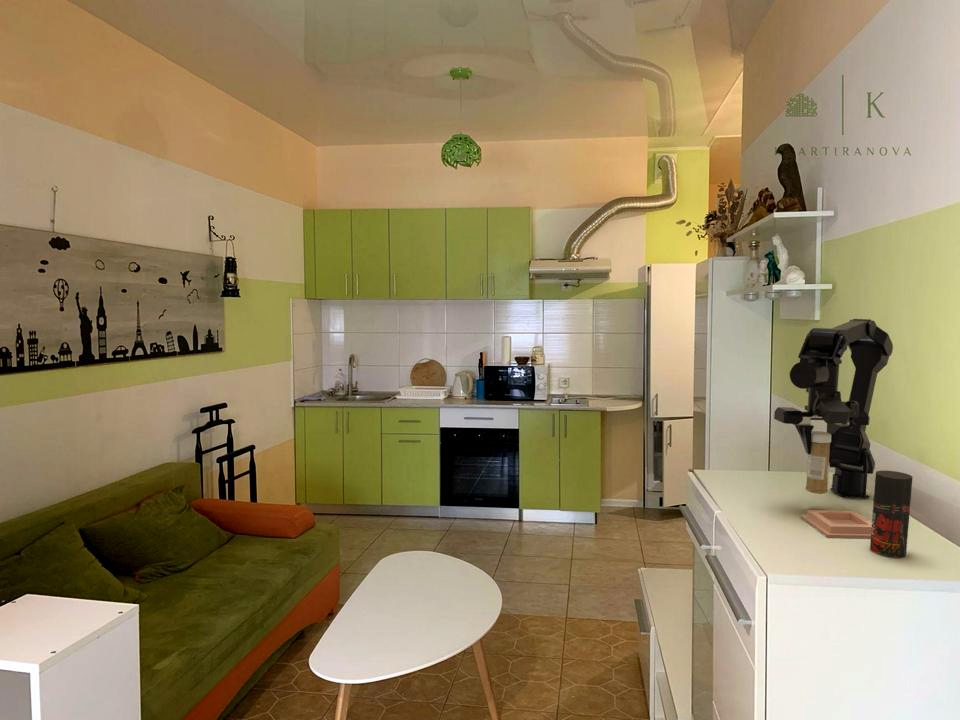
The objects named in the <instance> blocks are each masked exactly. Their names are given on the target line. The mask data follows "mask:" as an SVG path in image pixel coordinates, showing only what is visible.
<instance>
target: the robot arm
mask: <svg viewBox="0 0 960 720" xmlns="http://www.w3.org/2000/svg"><path fill="white" fill-rule="evenodd" d="M876 323H877V322H876V321H875V320H872V319H871V318H870V319H869V318H868V319H867V318H865V319H864V318H853V319H849V321H848V322H847V321H846V322H844V323H842V324H839V325H837V326H834V327H831V328H829V327H813V328H811V329H810V330H808V331H809V332H808V333H807V335H806V337H805V339H804V341H803V344H802V347H801V349H800V352H799V353H798V359H799V361H798V362H797V363H795V364H794V365H793V366H792V367H791V368H790V371H789V379H790V382H791V383H792V385H794V387H797V388H799V389H803V390H805V393H808V396H807V405H806V404H805V406H804V410H805V411H802V410H800V409H798V408H794V407H793V406H792V407H789V406H787V407H786V406H783V407H782V406H781V407H780V406H778V407H777V408H776V409H775V410H774V412H773V413H774V414H773V415H774V416H773V419H774V420H775V421H778V422H780V423H783V424H785V425H786V424H787V425H794V426H795V429H796V431H797V433H798V435H799V438H800V440H801V442H802V446H803V448H804V450H805V453H806V455H808V454H810V452H811V432H812V431H814V428H815V426H814V424H813V425H812V424H811V421H823V422H824V423H826V432H827V433H830V434H831V442H830V453H829V468H834V473H833V474H832V484H831V487H830V489H829V490H830V491H832V492H833V493H835V494H837V495H838V496H840V497H842V498H850V499H851V498H853V499H854V498H859V499H860V498H862V499H863V498H864V499H867V498H868V499H870V497H871V496H870V495H869V494H867V484H868V475H870V474H871V475H873V474H874V470H875V467H876V461H875V459H874V457H873V454H872V452H871V450H870V448H871V442H870V440H869V437H868V435H867V433H866V429H867V426H870V419H871V418H870V409H871V405H872V400H873V395H874V391H875V386H876V382H877V378H878V377H877V376H878V374H879V372H881V371H882V370H883V369H884V368H885V367H886V366H887V365H888V362H889V359H890V356H892V354H893V349H894V345H893V341H892V340H891V338H890V335H889V333H888V332H886V331H884V330H883V329H882V328H880V327H879V326H878V325H877V324H876ZM848 348H849V351H850V358H851V359H850V360H851V361H852V363H853V365H854V368H855V370H854V374H853V375H854V376H853V380H852V385H851V388H850V389H851V390H850V394H849V399H848V400H847V401H842V394H841V391H840V390H838V387H839V376H840V375H839V373H840V365H841V364H842V363H843V360H842V357H843V355H844V353H845V352H846V351H847V350H848Z"/></svg>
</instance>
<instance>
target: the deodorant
mask: <svg viewBox="0 0 960 720" xmlns="http://www.w3.org/2000/svg"><path fill="white" fill-rule="evenodd" d="M913 477H914V476H912V475H910V474H908V473H905V472H901V471H900V472H899V471H894V470H877V471H876V472H875V481H874V492H873V493H874V494H873V505H872V518H871V522H872V528H871V538H870V543H869V550H870V551H871V552H872V553H873V554H876V555H879V556H882V557H886V558H892V559H902V558H906V556H907V549H908V548H907V547H908V538H909V537H908V535H909V524H910V523H909V521H910V512H911V502H912V501H911V499H912V489H913V488H912V487H913Z"/></svg>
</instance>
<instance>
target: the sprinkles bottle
mask: <svg viewBox="0 0 960 720" xmlns="http://www.w3.org/2000/svg"><path fill="white" fill-rule="evenodd" d="M830 442H831V434H830V433H827V431H816V430H812V432H811V452H810V454H807V467H806V481H805V483H806V484H805V490H806V491H807V492H809V493H813V494H818V495H819V494H820V495H823V494H827V493H828V491H829V489H828V483H829V482H828V481H829V473H830V472H829V470H830V466H829V453H830Z"/></svg>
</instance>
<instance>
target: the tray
mask: <svg viewBox="0 0 960 720" xmlns="http://www.w3.org/2000/svg"><path fill="white" fill-rule="evenodd" d="M806 512H807V513H806V514H800V516H799V518H800V517H801V518H802V519H801V518H800V519H801V520H803V519H804V520H805V521H807V522H808V523H810V524H811V525H812V526H814V527H815V528H816V529H817V530H816V529H815V528H814V527H813V528H814V529H815V530H816V531H817V532H819V531H820V532H821V533H820V532H819V533H820V534H821V535H823V534H824V535H825V536H824V535H823V536H824V537H826V538H827V537H830V538H829V539H831V538H832V539H871V528H872V520H870V519H868V518H866V517H864V516H863V515H861V514H860V513H858V512H856V511H855V510H820V509H819V510H815V509H814V510H813V509H812V510H809V509H808V510H807V511H806ZM804 520H803V521H804ZM805 521H804V522H805ZM807 522H806V523H807ZM808 523H807V524H808ZM810 524H809V525H810ZM811 525H810V526H811ZM812 526H811V527H812Z"/></svg>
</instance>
